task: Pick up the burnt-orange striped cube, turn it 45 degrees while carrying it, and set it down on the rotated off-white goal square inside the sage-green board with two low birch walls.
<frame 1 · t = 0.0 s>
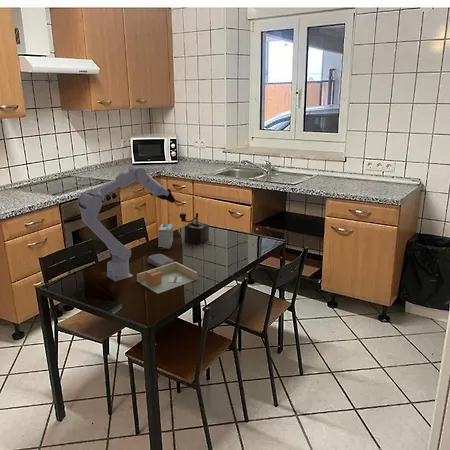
hand: (168, 199, 213), 32 cm above the table, fingers open, 7 cm apart
light bulb box: (165, 245, 245), on the table
pepper mill: (193, 242, 251), on the table
stone block: (161, 264, 220), on the table
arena: (167, 281, 201), on the table
cube: (153, 282, 199), point 1 cm above the table, touching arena
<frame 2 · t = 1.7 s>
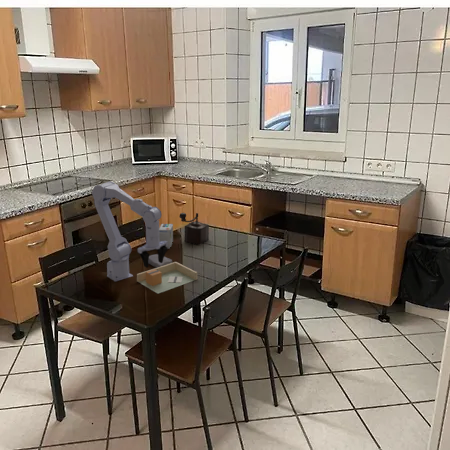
hand: (153, 264, 196), 9 cm above the table, fingers open, 7 cm apart
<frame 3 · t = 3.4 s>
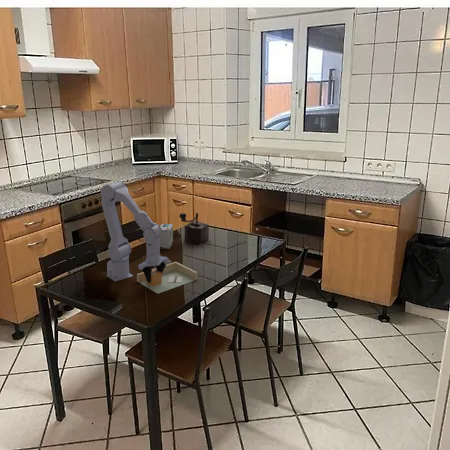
hand: (153, 280, 198), 2 cm above the table, fingers closed on cube, 5 cm apart
cube: (153, 282, 199), point 1 cm above the table, touching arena, gripper
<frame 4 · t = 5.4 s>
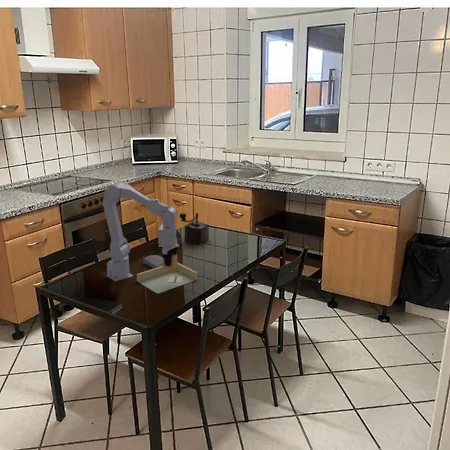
hand: (170, 263, 198), 9 cm above the table, fingers closed on cube, 5 cm apart
cube: (170, 266, 199), point 7 cm above the table, touching gripper
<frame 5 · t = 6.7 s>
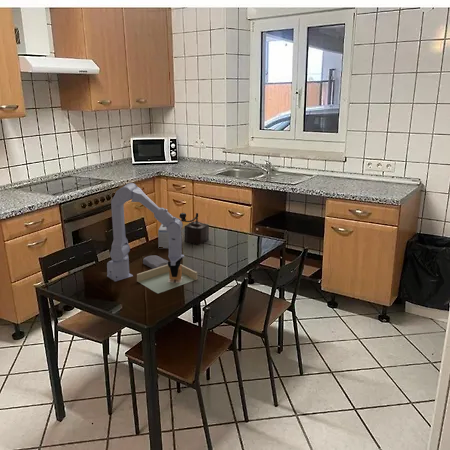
hand: (175, 274, 201), 3 cm above the table, fingers closed on cube, 5 cm apart
cube: (175, 277, 201), point 2 cm above the table, touching gripper
when the fingers open (3 cm above the table, at t = 7.7 s): cube stays where it is, resting on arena.
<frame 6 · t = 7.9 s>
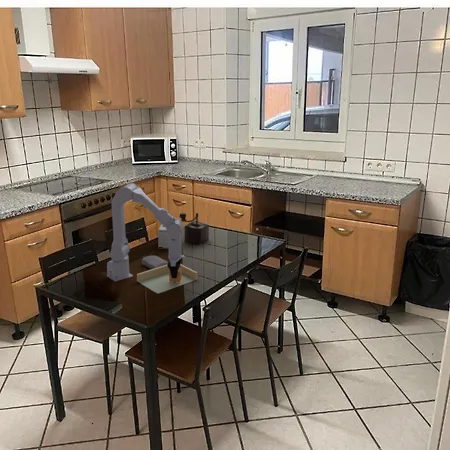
hand: (175, 274, 201), 3 cm above the table, fingers open, 7 cm apart
cube: (175, 279, 202), point 1 cm above the table, touching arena
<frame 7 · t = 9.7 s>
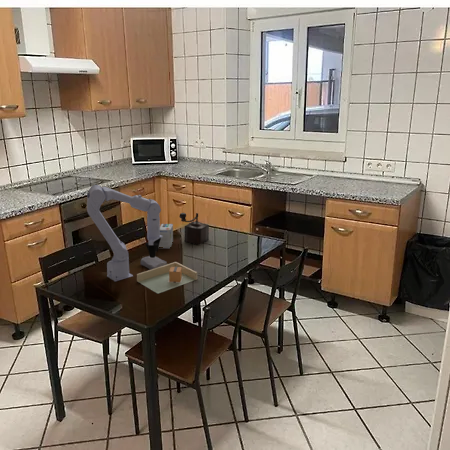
hand: (154, 254, 207), 9 cm above the table, fingers open, 7 cm apart
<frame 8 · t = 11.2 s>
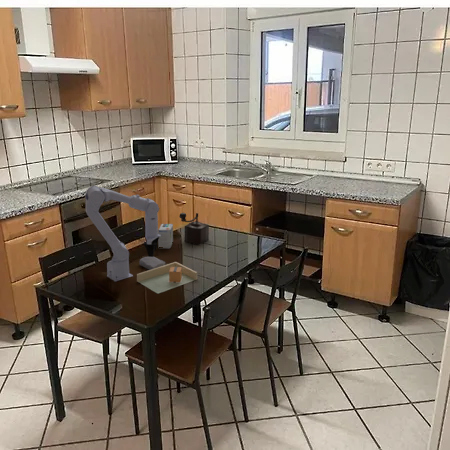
hand: (152, 253, 208), 9 cm above the table, fingers open, 7 cm apart
at the end: cube 0.1 cm from the target spot, point 0.8 cm above the table; cube tilted 0°; the gripper is holding nothing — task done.
